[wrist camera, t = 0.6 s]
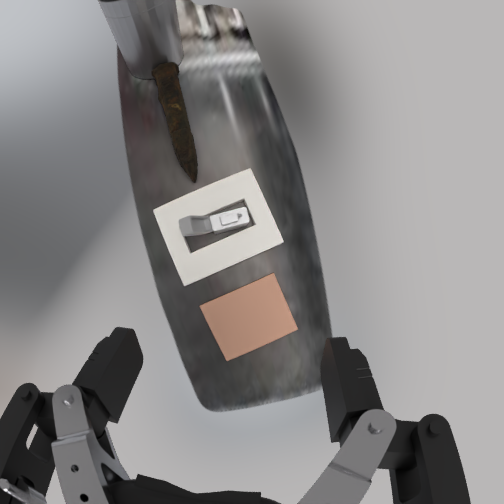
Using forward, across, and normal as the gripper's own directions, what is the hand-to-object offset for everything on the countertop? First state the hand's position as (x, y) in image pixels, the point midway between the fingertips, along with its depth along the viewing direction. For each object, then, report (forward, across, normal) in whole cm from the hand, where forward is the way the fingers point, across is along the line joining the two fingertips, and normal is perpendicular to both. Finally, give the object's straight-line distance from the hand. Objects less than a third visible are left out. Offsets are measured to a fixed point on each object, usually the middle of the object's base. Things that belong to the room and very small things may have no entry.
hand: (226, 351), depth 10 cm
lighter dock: (+24, +4, +3) cm, 24 cm away
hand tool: (+30, +10, -11) cm, 33 cm away
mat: (+19, 0, +13) cm, 23 cm away
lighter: (+24, +4, +3) cm, 25 cm away
